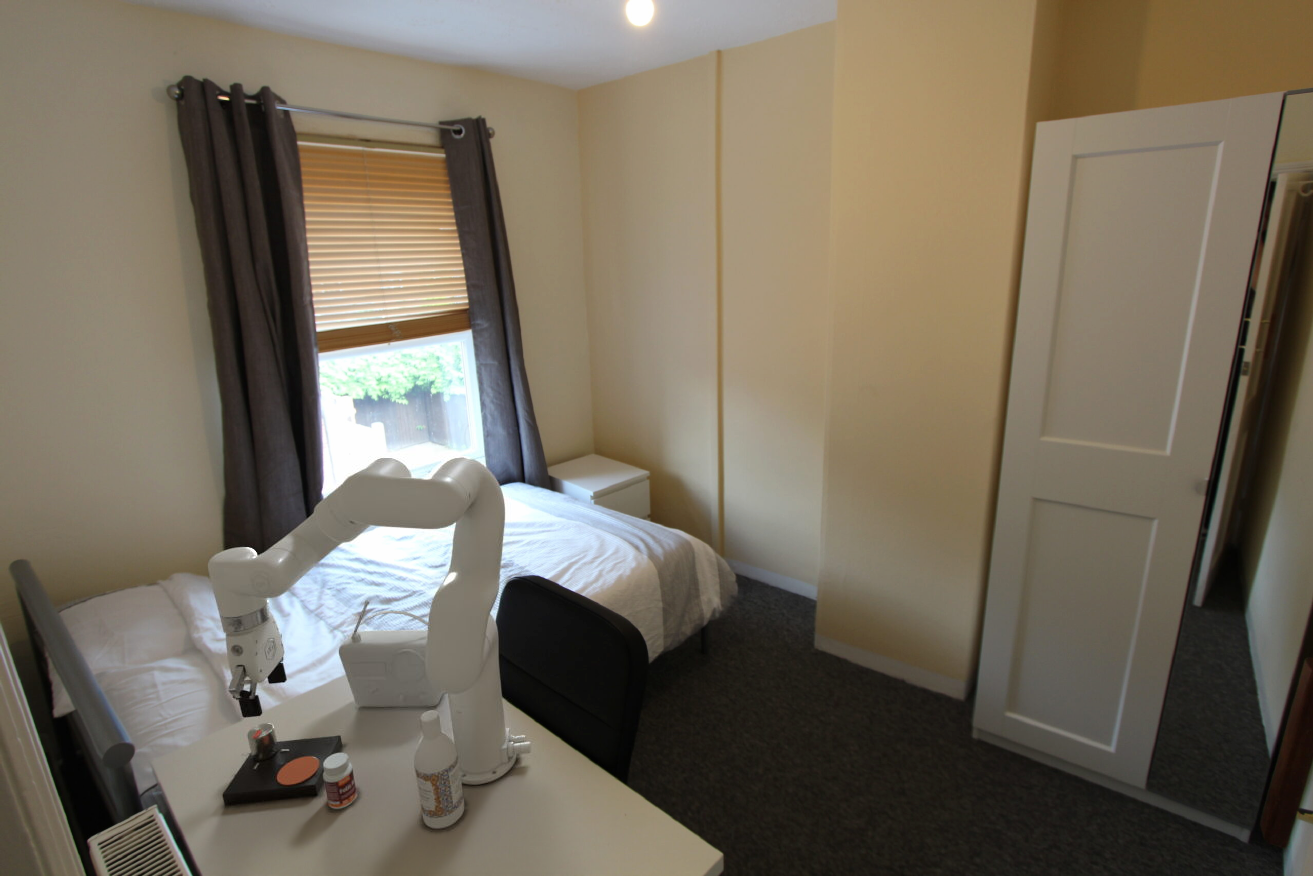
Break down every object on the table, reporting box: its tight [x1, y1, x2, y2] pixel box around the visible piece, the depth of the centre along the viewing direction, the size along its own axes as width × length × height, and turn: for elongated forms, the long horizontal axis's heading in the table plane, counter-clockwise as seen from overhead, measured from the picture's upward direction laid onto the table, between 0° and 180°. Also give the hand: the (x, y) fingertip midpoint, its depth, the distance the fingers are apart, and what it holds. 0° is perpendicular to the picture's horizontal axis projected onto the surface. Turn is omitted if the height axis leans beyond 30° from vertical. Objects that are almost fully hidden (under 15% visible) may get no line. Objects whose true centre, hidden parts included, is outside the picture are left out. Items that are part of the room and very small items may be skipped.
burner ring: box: [277, 756, 319, 785], centre depth 123 cm, size 7×7×1 cm
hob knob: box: [246, 722, 278, 761], centre depth 127 cm, size 4×4×5 cm
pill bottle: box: [323, 752, 358, 810], centre depth 118 cm, size 5×5×8 cm
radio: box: [338, 599, 444, 708], centre depth 142 cm, size 22×8×25 cm, turn 88°
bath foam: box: [413, 709, 465, 830], centre depth 112 cm, size 7×7×20 cm
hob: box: [221, 735, 343, 807], centre depth 126 cm, size 17×14×3 cm
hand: (265, 698), depth 122 cm, fingers open, 9 cm apart
